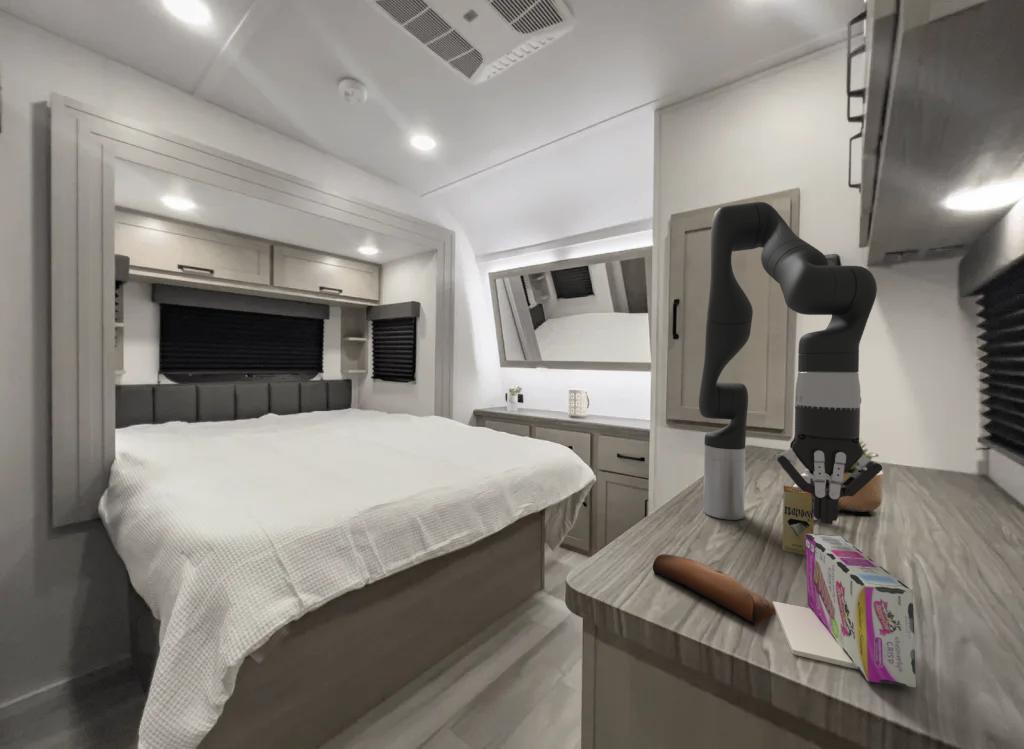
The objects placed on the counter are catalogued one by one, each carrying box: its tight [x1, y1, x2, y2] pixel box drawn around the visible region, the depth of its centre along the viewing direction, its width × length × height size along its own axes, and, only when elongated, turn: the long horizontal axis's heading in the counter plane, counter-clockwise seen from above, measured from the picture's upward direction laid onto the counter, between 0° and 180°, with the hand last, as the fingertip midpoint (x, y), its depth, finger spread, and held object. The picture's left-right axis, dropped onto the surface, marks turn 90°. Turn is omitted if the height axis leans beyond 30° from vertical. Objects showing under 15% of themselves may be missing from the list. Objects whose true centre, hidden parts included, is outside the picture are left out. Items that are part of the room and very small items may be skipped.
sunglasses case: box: [652, 553, 776, 626], centre depth 68 cm, size 18×7×7 cm
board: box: [772, 600, 859, 670], centre depth 56 cm, size 12×12×1 cm
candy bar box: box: [805, 533, 917, 688], centre depth 54 cm, size 11×5×16 cm
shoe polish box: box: [782, 485, 815, 556], centre depth 84 cm, size 5×5×12 cm
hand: (823, 521), depth 60 cm, fingers closed
